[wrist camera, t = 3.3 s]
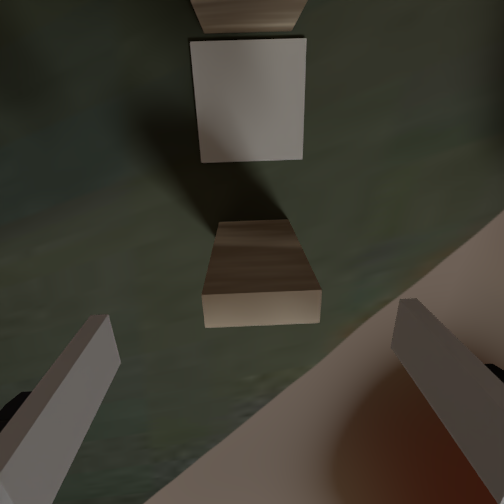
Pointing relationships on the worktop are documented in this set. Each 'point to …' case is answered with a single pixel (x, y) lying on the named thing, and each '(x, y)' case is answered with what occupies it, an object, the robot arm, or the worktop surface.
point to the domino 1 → (247, 15)
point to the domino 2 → (259, 277)
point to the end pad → (249, 99)
